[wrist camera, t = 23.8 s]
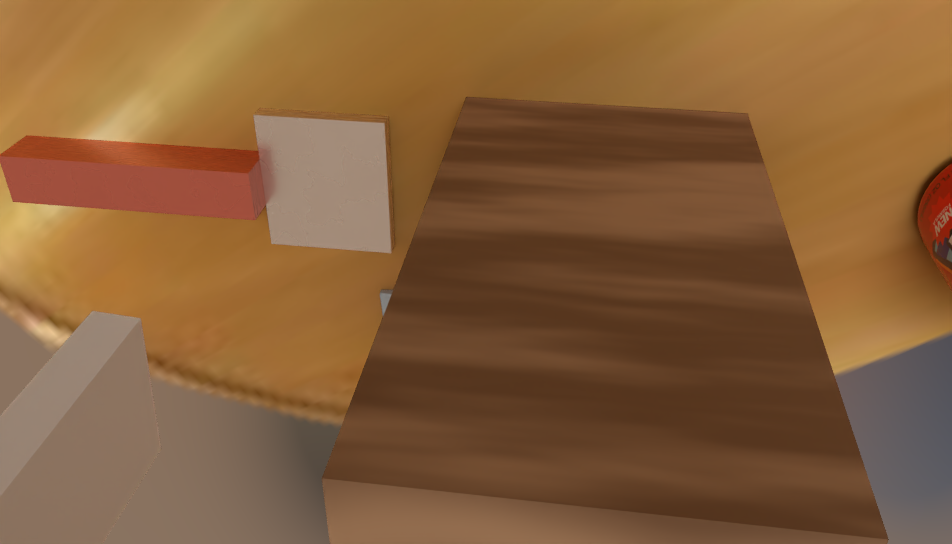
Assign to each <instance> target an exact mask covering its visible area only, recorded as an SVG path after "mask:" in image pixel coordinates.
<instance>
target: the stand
mask: <svg viewBox="0 0 952 544" xmlns="http://www.w3.org/2000/svg"><path fill="white" fill-rule="evenodd" d="M322 483H323V491H324V499H325V507H326V515H327V523H328V530H329V539H330V544H887V543H888V540H889V539H888V537H887V533H886V530H885V527H884V524H883V521H882V518H881V515H880V512H879V509H878V506H877V503H876V500H875V497H874V494H873V491H872V488H871V485H870V482H869V479H868V476H867V473H866V470H865V467H864V464H863V461H862V458H861V455H860V452H859V449H858V446H857V443H856V440H855V437H854V434H853V431H852V428H851V425H850V422H849V419H848V416H847V413H846V410H845V407H844V404H843V401H842V397H841V394H840V391H839V388H838V385H837V382H836V379H835V376H834V373H833V370H832V367H831V364H830V361H829V358H828V355H827V352H826V349H825V346H824V343H823V340H822V337H821V334H820V331H819V328H818V325H817V322H816V319H815V316H814V313H813V310H812V307H811V304H810V301H809V298H808V295H807V292H806V289H805V286H804V283H803V280H802V277H801V274H800V271H799V268H798V265H797V262H796V259H795V256H794V253H793V250H792V247H791V244H790V240H789V237H788V234H787V231H786V228H785V225H784V222H783V219H782V216H781V213H780V210H779V207H778V204H777V201H776V198H775V195H774V192H773V189H772V186H771V183H770V180H769V177H768V174H767V171H766V168H765V165H764V162H763V159H762V156H761V153H760V150H759V147H758V144H757V141H756V138H755V135H754V132H753V129H752V126H751V123H750V120H749V117H748V114H744V113H727V112H710V111H693V110H676V109H659V108H643V107H626V106H609V105H592V104H575V103H558V102H541V101H524V100H507V99H490V98H474V97H466V99H465V102H464V104H463V107H462V110H461V112H460V115H459V118H458V120H457V123H456V126H455V128H454V131H453V134H452V136H451V139H450V141H449V144H448V147H447V149H446V152H445V155H444V157H443V160H442V163H441V165H440V168H439V170H438V173H437V176H436V178H435V181H434V184H433V186H432V189H431V192H430V194H429V197H428V200H427V202H426V205H425V207H424V210H423V213H422V215H421V218H420V221H419V223H418V226H417V229H416V231H415V234H414V236H413V239H412V242H411V244H410V247H409V250H408V252H407V255H406V258H405V260H404V263H403V265H402V268H401V271H400V273H399V276H398V279H397V281H396V284H395V287H394V289H393V292H392V295H391V297H390V300H389V302H388V305H387V308H386V310H385V313H384V316H383V318H382V321H381V324H380V326H379V329H378V331H377V334H376V337H375V339H374V342H373V345H372V347H371V350H370V353H369V355H368V358H367V360H366V363H365V366H364V368H363V371H362V374H361V376H360V379H359V382H358V384H357V387H356V390H355V392H354V395H353V397H352V400H351V403H350V405H349V408H348V411H347V413H346V416H345V419H344V421H343V424H342V426H341V429H340V432H339V434H338V437H337V440H336V442H335V445H334V448H333V450H332V453H331V456H330V459H329V461H328V464H327V466H326V469H325V471H324V474H323V477H322Z"/></svg>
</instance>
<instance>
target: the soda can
mask: <svg viewBox="0 0 952 544" xmlns="http://www.w3.org/2000/svg"><path fill="white" fill-rule="evenodd" d="M917 221H918V228H919V232H920V235H921V238H922V240H923V242H924V244H925V246H926V248H927V250H928V251H929V253H930V255H931V256H932V258H933V260H934V262H935V263H936V265H937V267H938V269H939V270H940V272H941V274H942V275H943V277H944V279H945V281H946V282H947V284H948V286H949V287H950V289H951V291H952V163H951V164H950V165H949V166H947V167H946V168H945V169H944V170H943V171H941V172H940V173H939V174H938V175H937V176H936V177H935V179H934V180H933V181H932V182H931V183H930V185H929V186H928V188H927V189H926V191H925V193H924V195H923V197H922V199H921V202H920V205H919V209H918V217H917Z"/></svg>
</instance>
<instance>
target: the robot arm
mask: <svg viewBox="0 0 952 544" xmlns="http://www.w3.org/2000/svg"><path fill="white" fill-rule="evenodd" d="M160 450H161V444H160V437H159V431H158V424H157V418H156V412H155V405H154V400H153V393H152V386H151V380H150V374H149V367H148V361H147V355H146V349H145V342H144V336H143V330H142V323H141V318H135V317H129V316H122V315H116V314H109V313H103V312H96V311H92V312H91V313H90V314H89V315H88V316H87V318H86V319H85V320H84V321H83V322H82V323H81V324H80V326H79V327H78V328H77V329H76V330H75V331H74V332H73V334H72V335H71V336H70V337H69V338H68V339H67V340H66V341H65V343H64V344H63V345H62V346H61V347H60V348H59V349H58V351H57V352H56V353H55V354H54V355H53V356H52V357H51V359H50V360H49V361H48V362H47V363H46V364H45V365H44V367H43V368H42V369H41V370H40V371H39V372H38V373H37V374H36V376H35V377H34V378H33V379H32V380H31V381H30V382H29V384H28V385H27V386H26V387H25V388H24V389H23V390H22V391H21V393H20V394H19V395H18V396H17V397H16V398H15V399H14V401H13V402H12V403H11V404H10V405H9V406H8V407H7V409H6V410H5V411H4V412H3V413H2V414H1V415H0V544H103V542H104V541H105V539H106V538H107V536H108V534H109V533H110V531H111V529H112V528H113V526H114V525H115V523H116V521H117V520H118V518H119V517H120V515H121V513H122V512H123V510H124V508H125V507H126V505H127V504H128V502H129V500H130V499H131V497H132V496H133V494H134V492H135V491H136V489H137V487H138V486H139V484H140V483H141V481H142V479H143V478H144V476H145V475H146V473H147V471H148V470H149V468H150V467H151V465H152V463H153V462H154V460H155V458H156V457H157V455H158V454H159V452H160Z"/></svg>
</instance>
